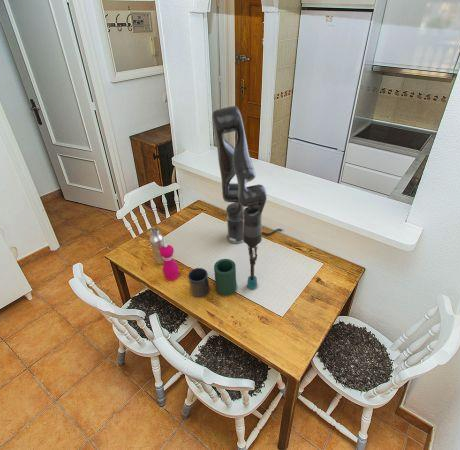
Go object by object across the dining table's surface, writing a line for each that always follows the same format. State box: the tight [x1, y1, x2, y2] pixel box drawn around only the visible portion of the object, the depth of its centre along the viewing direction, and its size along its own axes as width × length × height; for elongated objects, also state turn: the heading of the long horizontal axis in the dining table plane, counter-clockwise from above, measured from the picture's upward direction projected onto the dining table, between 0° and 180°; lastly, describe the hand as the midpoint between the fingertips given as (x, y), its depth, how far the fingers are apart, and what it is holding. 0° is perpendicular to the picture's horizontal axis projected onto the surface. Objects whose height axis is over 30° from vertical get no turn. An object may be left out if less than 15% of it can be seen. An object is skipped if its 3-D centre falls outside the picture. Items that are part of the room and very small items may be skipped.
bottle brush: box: [247, 265, 258, 290], centre depth 138 cm, size 4×4×22 cm
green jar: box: [213, 258, 237, 297], centre depth 140 cm, size 9×9×14 cm
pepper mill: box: [160, 243, 180, 282], centre depth 145 cm, size 7×7×20 cm
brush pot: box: [187, 267, 210, 298], centre depth 141 cm, size 8×8×10 cm
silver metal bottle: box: [148, 227, 165, 265], centre depth 153 cm, size 6×7×20 cm
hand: (252, 262), depth 136 cm, fingers closed on bottle brush
